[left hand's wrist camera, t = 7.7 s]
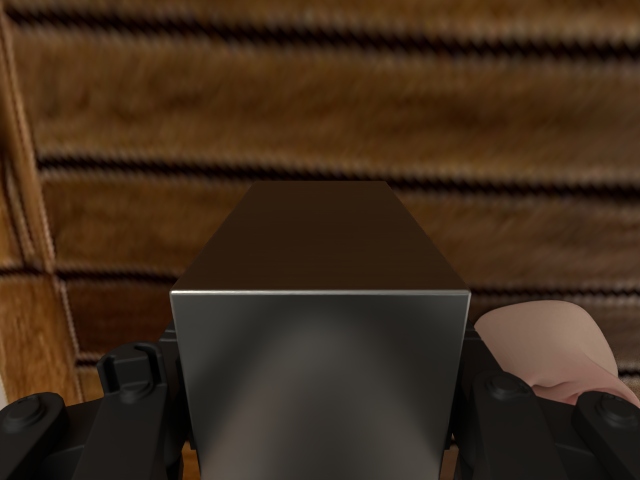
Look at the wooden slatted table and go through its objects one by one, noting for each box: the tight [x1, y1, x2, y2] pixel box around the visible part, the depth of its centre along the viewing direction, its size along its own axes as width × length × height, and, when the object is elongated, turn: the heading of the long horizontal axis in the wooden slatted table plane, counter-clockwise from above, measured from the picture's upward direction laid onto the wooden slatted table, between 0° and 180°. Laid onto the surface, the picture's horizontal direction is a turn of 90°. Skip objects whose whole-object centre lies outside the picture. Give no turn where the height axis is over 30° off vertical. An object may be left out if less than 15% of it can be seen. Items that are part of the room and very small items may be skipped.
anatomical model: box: [474, 300, 640, 408], centre depth 29 cm, size 13×4×12 cm
